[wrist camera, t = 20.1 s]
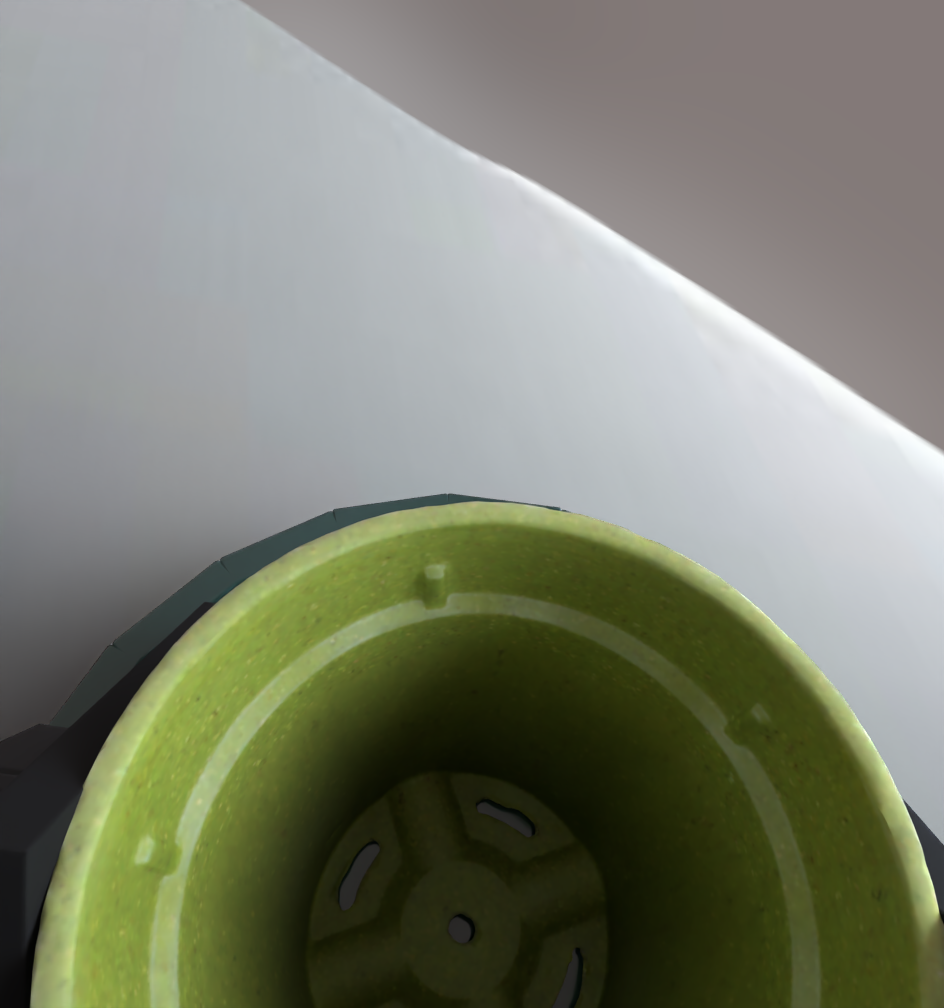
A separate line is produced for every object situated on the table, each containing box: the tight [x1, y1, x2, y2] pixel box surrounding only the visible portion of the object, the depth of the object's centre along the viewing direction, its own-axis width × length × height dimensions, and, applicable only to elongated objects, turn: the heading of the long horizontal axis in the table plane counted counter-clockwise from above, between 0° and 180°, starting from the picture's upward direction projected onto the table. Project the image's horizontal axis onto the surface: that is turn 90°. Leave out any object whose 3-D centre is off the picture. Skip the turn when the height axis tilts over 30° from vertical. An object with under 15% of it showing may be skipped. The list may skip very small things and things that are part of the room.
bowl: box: [49, 494, 583, 1008], centre depth 14 cm, size 15×15×4 cm
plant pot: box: [30, 501, 944, 1008], centre depth 12 cm, size 9×9×9 cm
